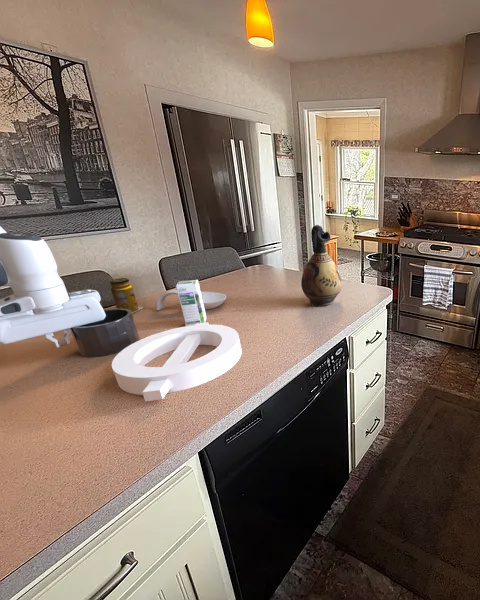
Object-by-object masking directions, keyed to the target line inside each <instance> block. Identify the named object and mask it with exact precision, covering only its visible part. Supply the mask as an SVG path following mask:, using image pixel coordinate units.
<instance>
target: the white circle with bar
mask: <svg viewBox="0 0 480 600" xmlns="http://www.w3.org/2000/svg"><path fill="white" fill-rule="evenodd" d="M241 345H242V344H241V340H240V335H239V333H238V331H237V330H236V329H234V328H233V327H230V326H227V325H223V324H210V323H209V322H208V321H207V322H205V323H196V325H192V326H186V325H185V326H181V327H175V328H171V329H167V330H164V331H160V332H156V333H154V334H151V335H148V336H146V337H144V338H141V339H140V340H139V341H137V342H135V343H133V344H131V345H130V346H128V347H126V348H125V349H123V350H122V351H121V352H117V353H116V356H114V358H113V359H112V362H111V368H112V371H113V374H114V377H115V380H116V383H117V385H118V387H119V388H120V389H121V390H122V391H124V392H126V393H128V394H133V395H137V396H143V398H144V399H143V400H144V402H151V401H159V400H160V401H161V400H164V398H165V397H166V395H167V394H171V393H177V392H182V391H185V390H188V389H192V388H195V387H198V386H200V385H204V384H205V383H208V382H210V381H212V380H214V379H216V378H218V377H220V376H221V375H223V374H225V373H226V372H228V371H229V370H230V369H232V368H233V367H234V366H235V365H236V364H237V363H238V362H239V361H240V358H241V356H242V352H243V351H242V346H241ZM199 346H213V347H215V349H213V350H211V351H210V352H208V353H206V354H205V355H202V356H200V357H198V358H195V359H192V360H190V359H191V357H192V356H193V354H194V353H195V351H196V350H197V348H198V347H199ZM170 352H173V353H171V355H170V357H168V359H167V360H166V361H165V362H164V364H163V365H162V366H146V365H147V364H148V363H150V362H151V361H153V360H154V359H157V358H158V357H160V356H162V355H165V354H167V353H170Z"/></svg>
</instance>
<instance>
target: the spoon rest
mask: <svg viewBox="0 0 480 600" xmlns="http://www.w3.org/2000/svg"><path fill="white" fill-rule="evenodd" d="M171 295H177V296H178V293H177V289H176V288H175V289H170V290H167V291H166V292H164V293H163V294H161V295H160V296H159V297H158V298H157V300H156V302H155V309H156V311H160V310H161V311H162V309H164V308H165V307H166V298H167V297H168V296H171ZM201 295H202V300H203V304H204V309H205V310H213V309H216V308H218V307H219V306H222V305H223V303H224V302H225V301H226V299H227V295H226V294H225V293H221V292H215V291H214V292H213V291H201Z"/></svg>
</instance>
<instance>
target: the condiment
mask: <svg viewBox="0 0 480 600" xmlns="http://www.w3.org/2000/svg"><path fill="white" fill-rule="evenodd" d="M109 284H110V287H111V288H110V291H111V295H112V298H113V301H114V304H115V307H116V309H129V310H131V311H132V314H134V313H137V312H138V311H141V310H142V309H143V308H145V306H139V304H138V301H137V298H136V294H135V291H134V287H133V285H131V282H130V279H129V278H127V277H121V278H115V279H111V280H110V281H109Z"/></svg>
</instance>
